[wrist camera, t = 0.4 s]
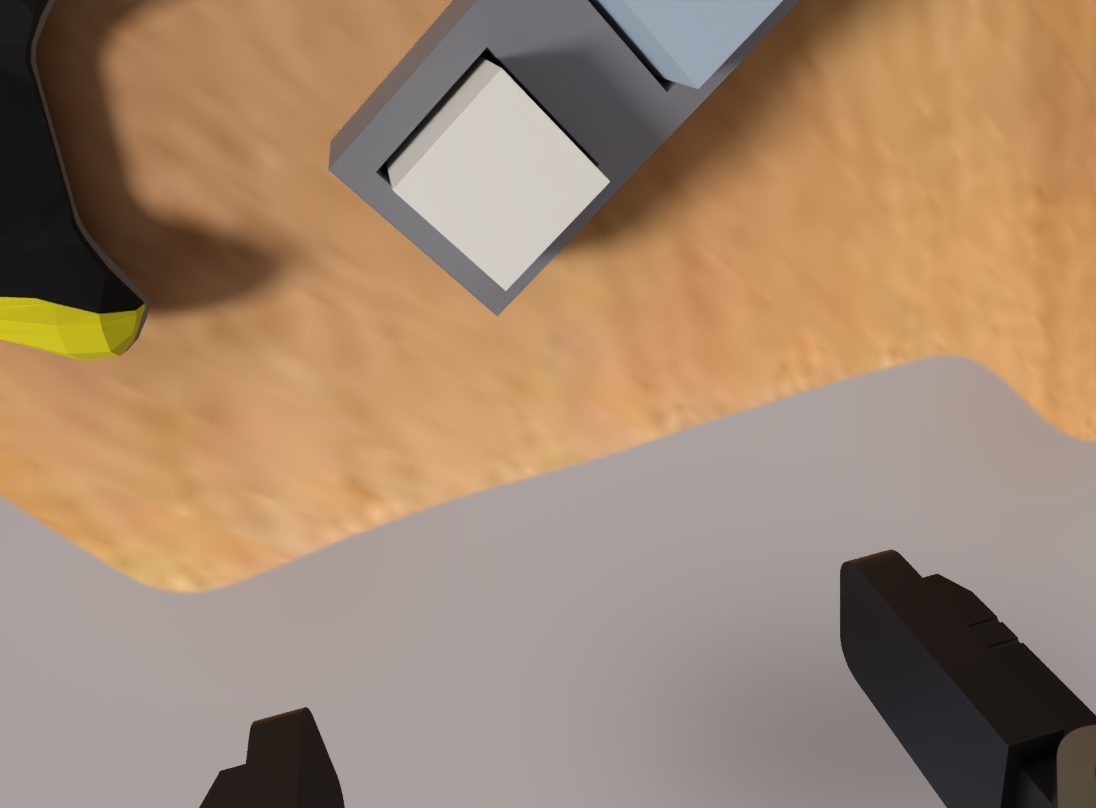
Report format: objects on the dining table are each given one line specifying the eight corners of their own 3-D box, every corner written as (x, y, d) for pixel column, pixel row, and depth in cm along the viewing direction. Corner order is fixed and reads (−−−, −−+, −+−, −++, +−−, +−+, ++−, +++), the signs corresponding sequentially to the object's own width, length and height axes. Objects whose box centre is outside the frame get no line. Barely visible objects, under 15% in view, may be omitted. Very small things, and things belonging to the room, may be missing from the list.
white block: (473, 52, 32) (501, 68, 27) (566, 148, 35) (610, 181, 29) (384, 154, 33) (392, 190, 28) (479, 240, 36) (505, 291, 30)
